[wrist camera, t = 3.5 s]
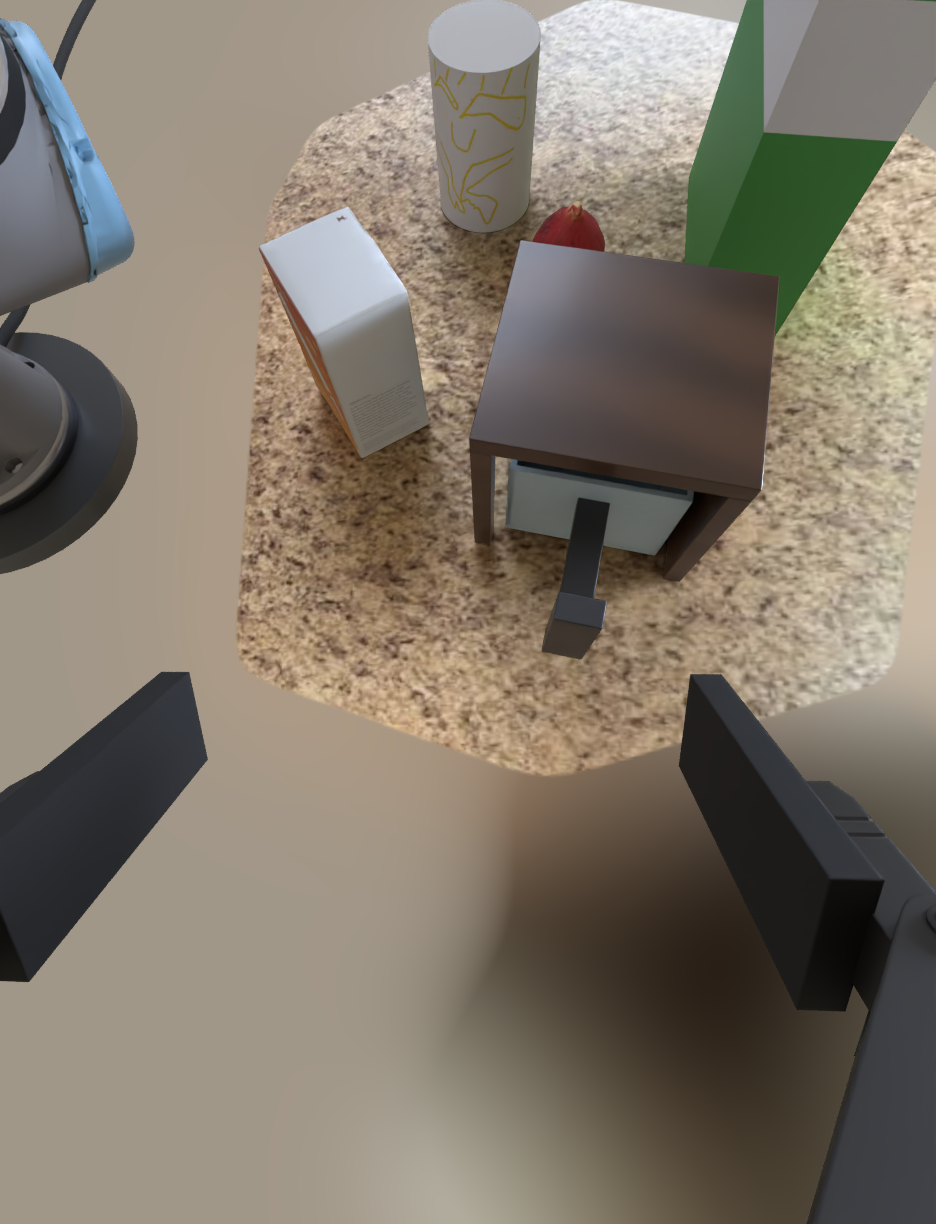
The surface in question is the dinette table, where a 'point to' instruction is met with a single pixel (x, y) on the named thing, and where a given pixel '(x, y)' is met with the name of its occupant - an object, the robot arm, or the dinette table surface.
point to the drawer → (588, 535)
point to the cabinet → (631, 382)
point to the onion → (571, 229)
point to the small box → (351, 327)
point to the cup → (484, 111)
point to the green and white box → (803, 130)
